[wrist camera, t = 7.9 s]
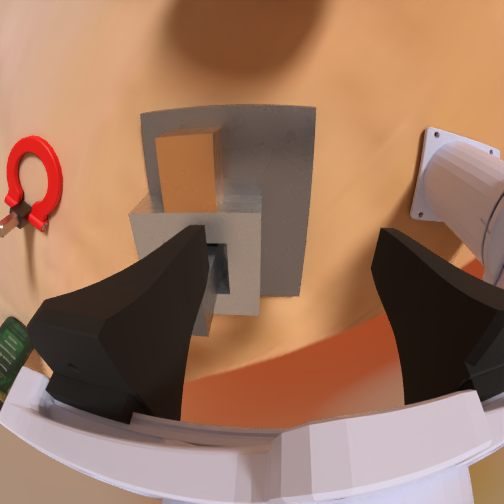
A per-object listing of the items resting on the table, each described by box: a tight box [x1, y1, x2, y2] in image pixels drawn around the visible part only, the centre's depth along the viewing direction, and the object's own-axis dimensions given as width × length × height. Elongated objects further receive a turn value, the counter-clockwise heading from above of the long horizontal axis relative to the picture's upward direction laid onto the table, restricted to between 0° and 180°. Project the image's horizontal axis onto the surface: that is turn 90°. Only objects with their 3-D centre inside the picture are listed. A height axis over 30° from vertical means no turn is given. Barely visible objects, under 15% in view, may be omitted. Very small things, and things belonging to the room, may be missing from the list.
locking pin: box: [192, 243, 225, 336], centre depth 19 cm, size 3×3×8 cm
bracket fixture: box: [129, 104, 316, 316], centre depth 20 cm, size 12×16×4 cm
